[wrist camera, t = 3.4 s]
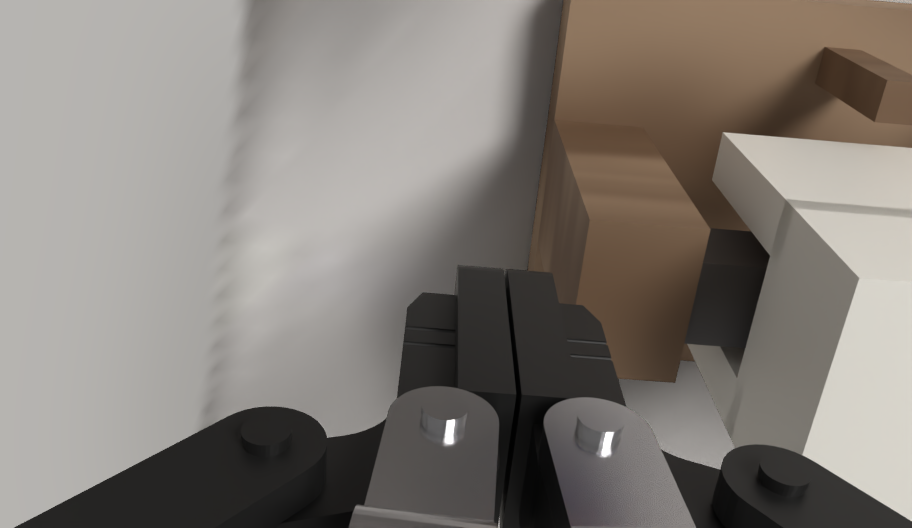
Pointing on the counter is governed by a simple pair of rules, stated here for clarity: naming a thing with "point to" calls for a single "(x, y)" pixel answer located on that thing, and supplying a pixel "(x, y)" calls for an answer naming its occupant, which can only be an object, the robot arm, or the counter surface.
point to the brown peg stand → (694, 152)
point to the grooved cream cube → (824, 308)
